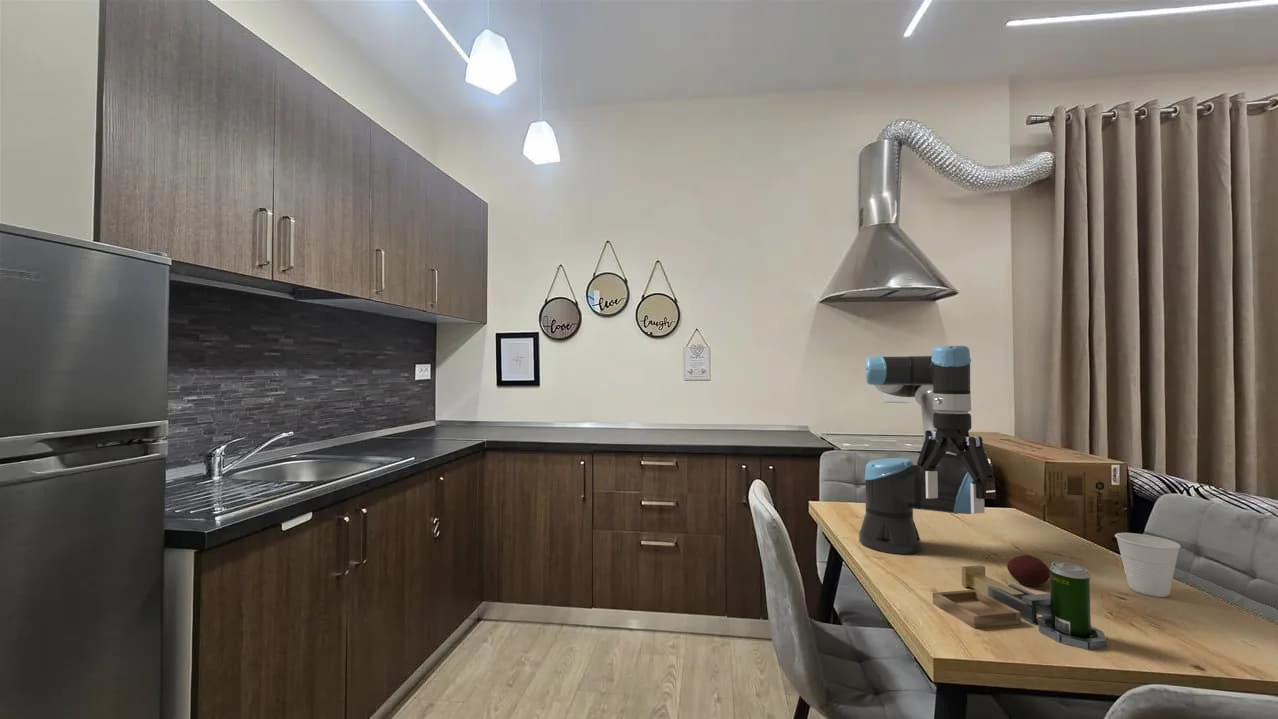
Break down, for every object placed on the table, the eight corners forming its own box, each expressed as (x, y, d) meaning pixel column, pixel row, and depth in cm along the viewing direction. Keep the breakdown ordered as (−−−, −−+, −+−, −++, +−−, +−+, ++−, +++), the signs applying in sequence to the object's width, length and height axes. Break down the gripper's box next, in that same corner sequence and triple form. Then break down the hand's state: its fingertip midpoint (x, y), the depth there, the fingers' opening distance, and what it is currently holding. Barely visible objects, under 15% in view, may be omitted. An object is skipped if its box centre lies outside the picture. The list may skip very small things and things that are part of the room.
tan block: (962, 585, 108) (961, 566, 108) (981, 583, 109) (981, 565, 109) (1007, 608, 97) (1007, 587, 97) (1029, 606, 98) (1028, 586, 98)
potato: (999, 580, 112) (998, 553, 112) (1023, 574, 115) (1023, 548, 115) (1037, 593, 105) (1036, 565, 105) (1061, 586, 108) (1060, 559, 108)
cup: (1167, 586, 108) (1165, 536, 108) (1194, 605, 99) (1192, 550, 99) (1107, 578, 112) (1106, 530, 113) (1129, 596, 103) (1127, 543, 104)
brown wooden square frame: (932, 603, 100) (932, 592, 100) (975, 599, 102) (975, 589, 102) (974, 628, 90) (974, 616, 90) (1020, 623, 92) (1020, 612, 92)
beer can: (1085, 646, 84) (1083, 575, 84) (1046, 632, 89) (1044, 565, 89) (1095, 637, 87) (1093, 568, 87) (1057, 624, 92) (1055, 559, 92)
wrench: (981, 601, 101) (981, 580, 101) (1019, 598, 102) (1018, 577, 102) (1076, 651, 83) (1075, 625, 83) (1120, 646, 84) (1119, 620, 84)
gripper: (900, 408, 126) (901, 493, 125) (984, 417, 102) (986, 521, 101) (925, 408, 127) (927, 491, 127) (1014, 416, 103) (1016, 519, 103)
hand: (953, 505), depth 114 cm, fingers open, 12 cm apart
